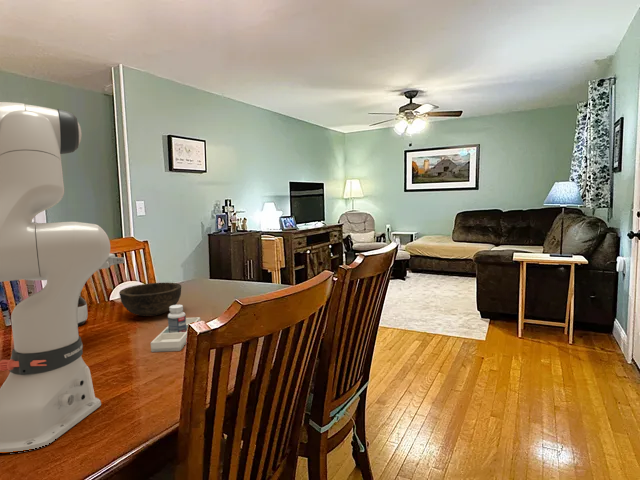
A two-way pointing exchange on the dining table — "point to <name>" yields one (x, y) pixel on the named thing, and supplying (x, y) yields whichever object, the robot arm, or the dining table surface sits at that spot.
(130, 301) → the bowl
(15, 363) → the robot arm
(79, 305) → the spread jar
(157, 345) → the white plastic tray
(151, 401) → the dining table surface
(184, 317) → the pill bottle
